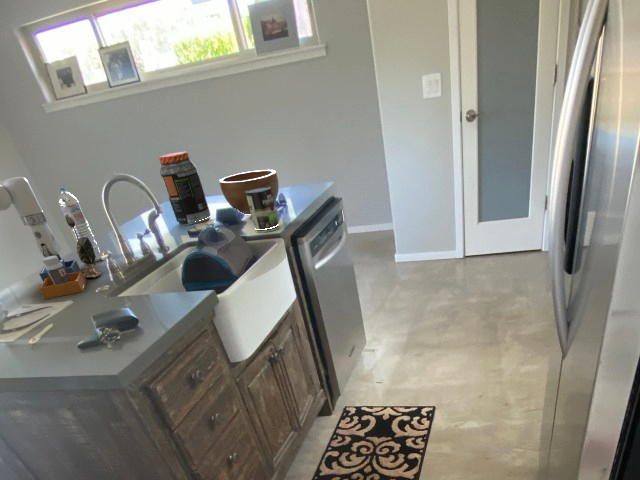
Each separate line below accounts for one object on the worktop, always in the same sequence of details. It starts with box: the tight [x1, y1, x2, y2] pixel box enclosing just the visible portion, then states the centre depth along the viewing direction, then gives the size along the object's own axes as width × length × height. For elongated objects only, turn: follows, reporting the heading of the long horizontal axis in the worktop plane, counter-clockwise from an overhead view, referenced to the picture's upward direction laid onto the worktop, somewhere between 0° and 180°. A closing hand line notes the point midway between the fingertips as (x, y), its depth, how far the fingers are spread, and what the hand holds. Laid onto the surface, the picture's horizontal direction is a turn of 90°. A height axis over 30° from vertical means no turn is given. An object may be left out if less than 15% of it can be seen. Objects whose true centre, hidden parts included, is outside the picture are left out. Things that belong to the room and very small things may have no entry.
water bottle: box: [57, 186, 102, 263], centre depth 196 cm, size 7×7×25 cm
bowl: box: [219, 169, 280, 215], centre depth 228 cm, size 25×25×15 cm
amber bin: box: [38, 270, 87, 300], centre depth 176 cm, size 12×12×4 cm
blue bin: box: [38, 259, 81, 282], centre depth 190 cm, size 11×11×4 cm
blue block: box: [59, 258, 67, 268], centre depth 190 cm, size 5×5×5 cm
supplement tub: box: [158, 151, 211, 226], centre depth 230 cm, size 16×16×26 cm
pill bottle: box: [41, 256, 71, 285], centre depth 174 cm, size 6×6×10 cm
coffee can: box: [245, 187, 280, 234], centre depth 206 cm, size 10×10×14 cm
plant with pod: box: [64, 215, 103, 278], centre depth 181 cm, size 8×11×20 cm
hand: (61, 273), depth 191 cm, fingers closed on blue block, 4 cm apart
